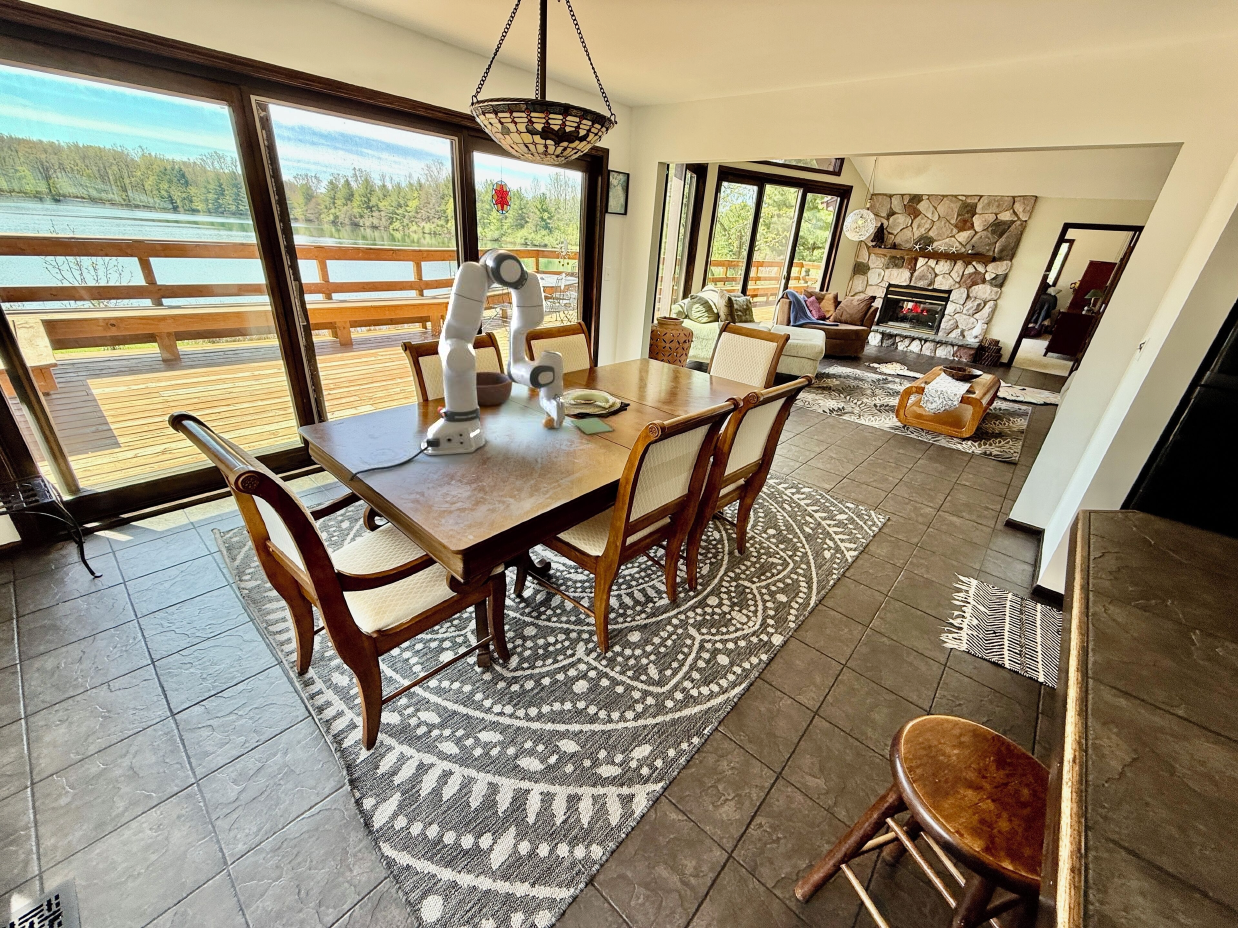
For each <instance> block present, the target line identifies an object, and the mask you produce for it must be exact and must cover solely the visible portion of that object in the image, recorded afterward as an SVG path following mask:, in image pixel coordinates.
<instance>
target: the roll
mask: <svg viewBox="0 0 1238 928" xmlns="http://www.w3.org/2000/svg"><path fill="white" fill-rule="evenodd" d="M554 423H555V419H554V418H553V417H552V416H551V417H549V418H546V417H545V418H544V419H543V420H542V426H543V428H545V429H553V428H555V427H554ZM563 424H564V420H561V421H560V424H559V427H561V426H562V425H563Z"/></svg>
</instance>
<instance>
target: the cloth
mask: <svg viewBox="0 0 1238 928" xmlns="http://www.w3.org/2000/svg"><path fill="white" fill-rule="evenodd" d="M571 422H572V423H573V424H574V425H575V426H576V427H578V429H580V430H581V431H582V432H583V433H584V434H585V435H593V434H599V433H606V432H613V431H614V429H613V428H612V427H611V426H609V425H608V424H606V423H605V422H604V421H603V420H601V419H600V418H599V417H589V418H583V419H582V418H581V419H575V420H571Z"/></svg>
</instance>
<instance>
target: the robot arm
mask: <svg viewBox="0 0 1238 928" xmlns="http://www.w3.org/2000/svg"><path fill="white" fill-rule="evenodd" d="M455 275H456V276H455V278H454V281H453V285H452V289H451V293H450V299H449V304H448V308H447V312H446V318H445V321H444V324H443V327H442V331H441V334H440V338H439V343H438V346H437V351H438V355H439V357H440V361H441V369H442V379H443V380H442V383H443V393H444V395H443V396H444V403H445V406H444V407H443V406H438V408H437V412H438V413H439V414H440V418H439V419H438V420H437V421H435V422H434V423H433V424H432V425H431V426H429V427H428V429H427V432H426V438H424V439H423V440H422V441H421V444H420V448H421V450H420V451H418V452H417V453H415V454H414V455H413V456H411V457H409V458H408V459H406V460H404V461H402V462H399V463H396V464H392V465H387V466H377V467H372V468H371V467H370V468H367V469H363V470H359V471H356V472H354V473H353V474H352V475H351V476H350V477H349V479H348V481H349V482H351V481H353V480H354V478H355V477H356V476H357V475H360V474H364V473H368V472H369V473H370V472H374V471H379V470H388V469H392V468H393V469H394V468H398V467H399V466H402V465H405V464H407V463H410V461H413V460H414V459H416V458H417V457H419V456H420V455H421V454H422V453H424V454H425V455H428V456H440V455H442V456H443V455H453V454H454V455H455V454H467V453H468V454H469V453H470V454H471V453H474V452H475V451H476V450H477V449H480V448H481V447H484V445H485V444H486V439H485V437H484V433H483V430H482V427H481V409H480V406H478V402H477V390H476V372H477V356H476V355H477V354H476V352H475V350H474V347H473V346H474V343H475V339H476V338H477V334H478V331H479V329H480V328H481V325H482V321H483V316H484V312H485V308H486V304H487V303H486V302H487V298H488V293H489V291H490V289H491V288H492V286H493V285H495V284H496V285H499V286H501V287H504V288H507V289H509V291H510V294H511V300H512V317H511V319H510V322H509V328H508V331H509V332H508V361H507V366H506V375H508V377H509V379H510V380H511V381H512V383H514V384H518V385H523V386H526V387H529V388H532V389H536V390H538V395H539V405H540V407H541V408H542V409H544V414H545V418H549V417H553V418H554V419H555V423H554V428H555V429H560V426H559V424H560V421H561V420H563V421H565V419H566V405H565V402H564V400H563V399H562V398H563V396H564V380H563V378H564V360H563V356H562V353H560V352H558V351H554V350H548V349H547V350H546V349H545V350H542V351H541V354H540V356H539V357H537V358H536V359H534V360H531V359H528V358H527V356H526V338H527V334H528V333H529V332H530V331H533V330H535V329H538V328H539V327H540V326H541V325H542V324H543V322H544V320H545V316H546V315H545V313H546V311H545V309H546V308H545V297H544V291H543V286H542V282H541V279H540V276H539V274H538V273H536V272H535V271H533V270H528V269H527V268H526V267H525V265H524V264H523V262H522V260H521V259H520V258H519V257H518V256H517V255H516V254H515V253H514V252H510V251H509V250H506V249H503V248H499V247H498V248H497V247H492V248H489V249H487V250H486V251H484V253H483V254H482V255H481V256H480V257H479V258H478V259H477V260H476V261H466V262H465V261H464V262H462V264H460V266H459V268H458V271H457V273H456V274H455Z"/></svg>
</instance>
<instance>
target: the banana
mask: <svg viewBox="0 0 1238 928" xmlns="http://www.w3.org/2000/svg"><path fill="white" fill-rule="evenodd" d="M569 400H592V401H596V402H600V403H606V404H607V403H610V398H608V397H607V396H605V395H603V394H601V393H596V392H582V393H579V394H578V393H577V394H576V395H573V396H572V397H571V398H570V399H569ZM605 412H606V413H609V412H610V409H609V410H608V411H606V410H605Z"/></svg>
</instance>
